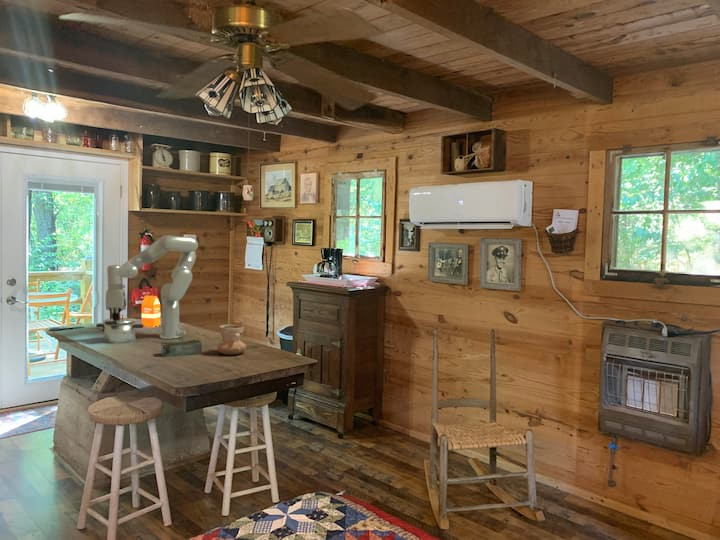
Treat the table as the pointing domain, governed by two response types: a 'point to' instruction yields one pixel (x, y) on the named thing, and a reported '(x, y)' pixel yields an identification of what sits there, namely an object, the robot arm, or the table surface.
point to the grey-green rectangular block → (181, 348)
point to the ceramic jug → (231, 340)
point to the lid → (119, 321)
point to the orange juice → (151, 311)
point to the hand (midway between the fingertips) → (116, 320)
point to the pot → (120, 332)
